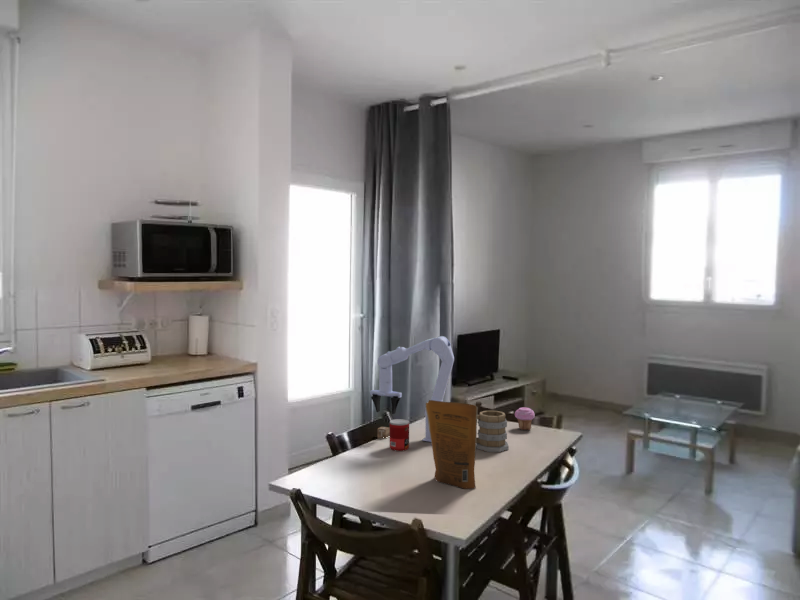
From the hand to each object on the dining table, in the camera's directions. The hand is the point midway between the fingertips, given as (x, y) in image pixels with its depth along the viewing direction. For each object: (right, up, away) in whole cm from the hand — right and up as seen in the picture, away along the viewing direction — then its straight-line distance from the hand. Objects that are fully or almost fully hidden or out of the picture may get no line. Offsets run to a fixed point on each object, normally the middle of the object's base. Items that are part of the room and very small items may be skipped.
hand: (385, 412), depth 243 cm
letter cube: (-1, -11, -1) cm, 11 cm away
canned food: (+6, -11, -17) cm, 21 cm away
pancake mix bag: (+24, -13, -57) cm, 63 cm away
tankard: (+40, -11, -16) cm, 44 cm away
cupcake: (+63, -10, +12) cm, 65 cm away
